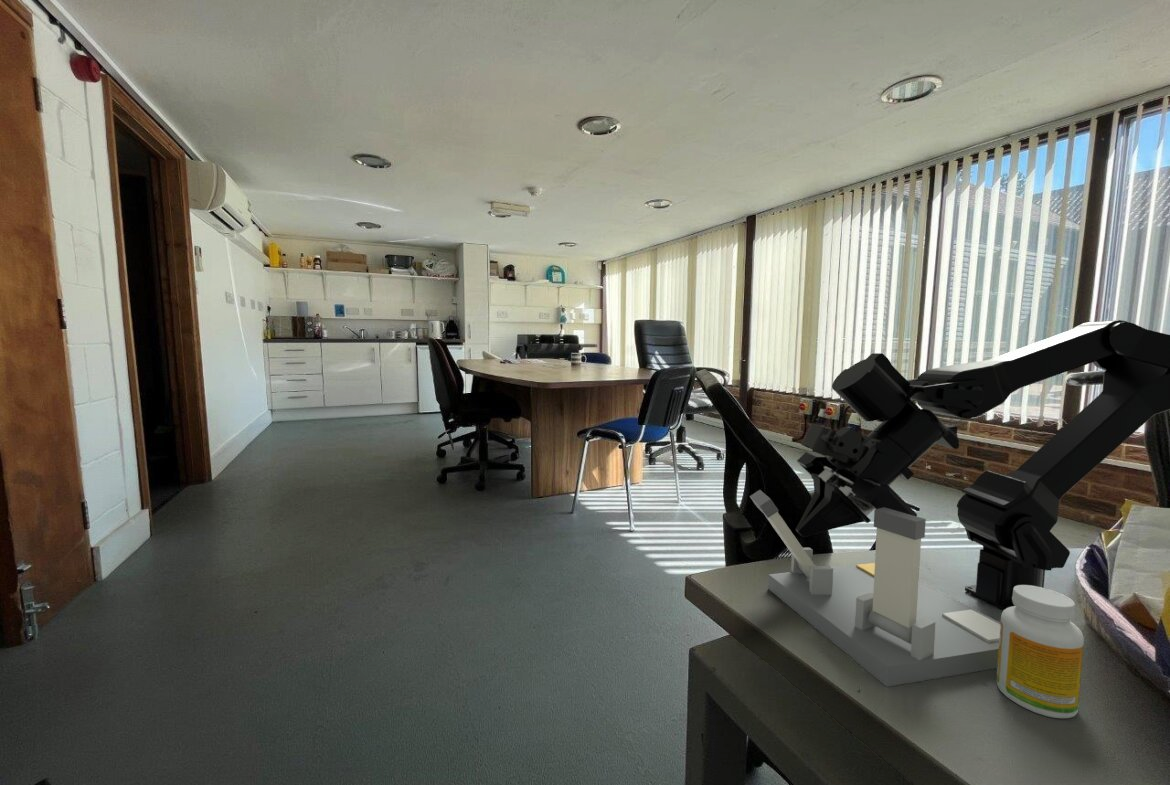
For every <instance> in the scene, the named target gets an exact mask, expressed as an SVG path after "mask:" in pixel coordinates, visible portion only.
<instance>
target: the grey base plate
mask: <svg viewBox="0 0 1170 785" xmlns="http://www.w3.org/2000/svg"><path fill="white" fill-rule="evenodd" d="M802 548H803V549H804V550H805V552H806V553H807V555H808V556H809V558H810V559H811V560H812V561H813V553H814V550H813V549H812V548H811V547H802ZM797 563H798V562H797V560H796V559H795V558H794V556H793V555H792V554H791V564H790V565H791V566H790V567H791V568H790V571H789V572H788V571H787V572H779V573H771V574H770V573H769V574H768V590H769V591H770V592H771V593H773V595H775V596H776V597H778V599H780V600H781V602H784V603H785V604H786V605H787V606H788V607H789V608H791V609H792V610H793V611H795V612H796V613H797V614H798V615H800V617H801V618H803V619H804V620H806V622H808V624H810V625H811V626H813V628H815V629H816V630H818V631H819V633H821V634H822V635H824V637H826V638H827V639H828V640H830V642H832V643H833V644H834V645H835V646H836V647H838V648H839V650H841V651H842V652H843V653H845V654H846V655H848V656H849V657H850V658H851V659H852V660H853V661H855V663H857V664H859V666H861V667H862V668H863V669H864V670H866V671H867V672H868V673H869V674H870V675H872V676H873V677H874V678H875V679H876V680H877V681H879V682H880V683H881V684H882V685H884V686H885V687H887V688H888V687H893V686H900V685H905V684H906V685H907V684H911V683H916V682H924V681H929V680H934V679H939V678H941V679H942V678H945V677H947V678H948V677H951V676H959V675H964V674H965V675H966V674H971V673H974V672H981V671H989V670H994V669H997V662H998V650H999V637H1000V622H1001V621H999V620H996V619H994V618H992V617H991V616H988V615H986V614H984V613H983V612H982V611H979V610H977V609H975V608H973V607H971V606H969V605H967V604H966V603H964V602H961V601H960V600H958V599H956V598H954V597H952V596H950V595H948V594H946V593H945V592H943V591H942V590H938V589H936V588H935V587H933V586H931V585H929V584H928V583H925V582H924V581H921V580H920V579H919V583H918V600H917V617H916V623H914V624H912V640H911V644H909V643H907V642H905V641H903V640H902V639H900V638H898V637H896V636H894V635H892V634H890V633H888V632H886V631H884V630H882V629H880V628H878V627H876V626H874V625H872V624H870V623H869V619H868V617H869V613H870V611H871V610H872V609H873V591H874V571H875V562H871V563H862V564H861V563H860V564H855V565H854V564H853V565H844V566H835V567H834V566H833V567H832V566H828V565H826V566H825V565H824V566H823V565H816V566H810V579H809V578H808V577H807V576H806V575H805V574H804V573H803V572H802V571H801V570H800V569H799V567H798V565H797Z"/></svg>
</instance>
